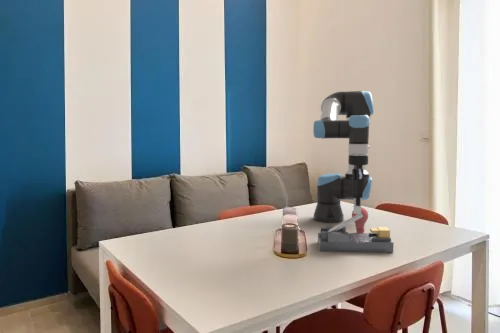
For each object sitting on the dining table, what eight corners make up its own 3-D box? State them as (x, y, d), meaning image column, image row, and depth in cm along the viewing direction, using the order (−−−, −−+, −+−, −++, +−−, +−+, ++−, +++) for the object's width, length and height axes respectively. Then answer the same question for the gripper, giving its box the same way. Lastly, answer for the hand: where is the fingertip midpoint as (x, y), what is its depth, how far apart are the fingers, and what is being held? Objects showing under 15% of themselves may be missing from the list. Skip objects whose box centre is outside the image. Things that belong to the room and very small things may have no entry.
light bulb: (349, 234, 186) (350, 208, 184) (353, 230, 192) (354, 205, 190) (365, 236, 182) (366, 209, 181) (369, 232, 189) (370, 206, 187)
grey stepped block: (320, 251, 163) (320, 234, 162) (317, 242, 175) (318, 225, 174) (393, 252, 161) (393, 235, 160) (385, 243, 173) (386, 226, 172)
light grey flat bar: (324, 237, 167) (323, 235, 167) (323, 235, 170) (322, 233, 170) (363, 216, 165) (362, 214, 165) (361, 214, 168) (360, 212, 168)
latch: (371, 239, 165) (372, 230, 164) (369, 235, 169) (369, 226, 169) (389, 239, 164) (390, 230, 163) (386, 235, 169) (387, 227, 168)
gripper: (371, 156, 157) (370, 217, 159) (365, 153, 169) (363, 210, 172) (351, 156, 157) (350, 217, 160) (346, 153, 170) (345, 209, 173)
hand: (357, 213), depth 166 cm, fingers closed
